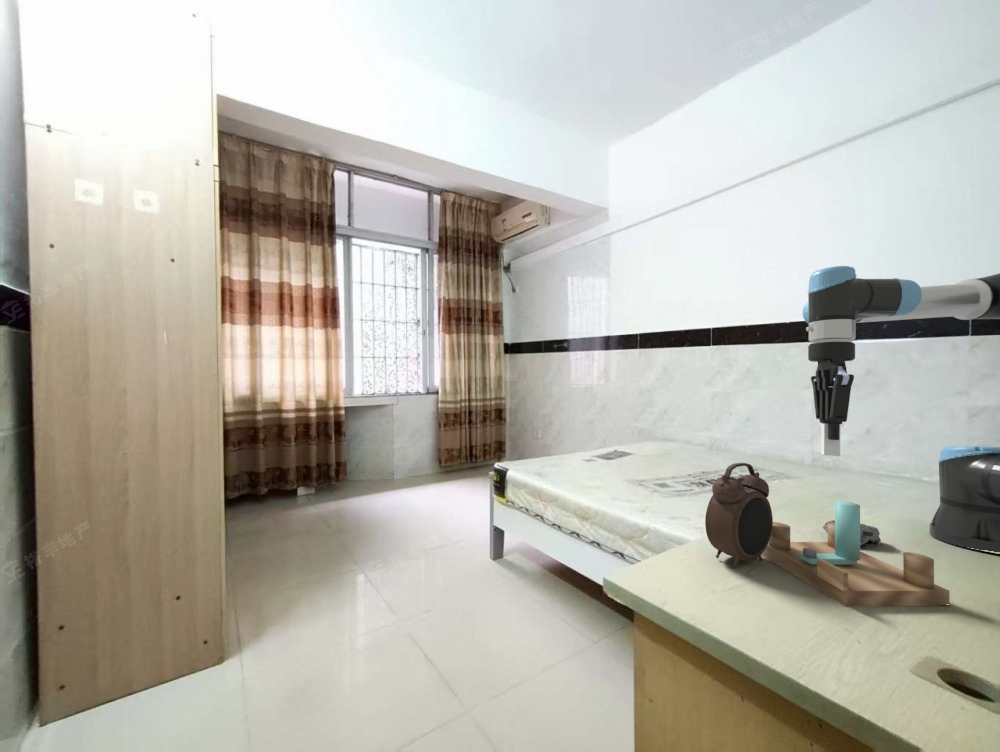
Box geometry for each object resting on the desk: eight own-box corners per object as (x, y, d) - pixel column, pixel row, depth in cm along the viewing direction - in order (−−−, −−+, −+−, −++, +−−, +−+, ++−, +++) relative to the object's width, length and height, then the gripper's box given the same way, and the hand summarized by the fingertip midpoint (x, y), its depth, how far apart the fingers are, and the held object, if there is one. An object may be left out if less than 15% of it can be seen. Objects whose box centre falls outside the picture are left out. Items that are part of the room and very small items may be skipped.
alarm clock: (737, 576, 74) (738, 469, 74) (701, 560, 80) (702, 462, 81) (780, 561, 80) (780, 464, 81) (744, 548, 87) (744, 458, 87)
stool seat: (839, 553, 85) (839, 521, 85) (949, 605, 65) (949, 563, 65) (757, 553, 84) (757, 521, 84) (843, 606, 64) (843, 563, 64)
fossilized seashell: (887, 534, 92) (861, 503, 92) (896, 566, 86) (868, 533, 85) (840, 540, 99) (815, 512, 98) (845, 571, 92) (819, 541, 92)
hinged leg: (797, 557, 76) (797, 500, 76) (847, 557, 76) (847, 500, 77) (812, 566, 72) (812, 506, 73) (865, 565, 73) (865, 506, 73)
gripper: (797, 345, 89) (796, 449, 89) (823, 338, 77) (822, 458, 77) (837, 345, 87) (837, 451, 86) (871, 338, 75) (870, 462, 74)
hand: (830, 454), depth 81 cm, fingers closed
